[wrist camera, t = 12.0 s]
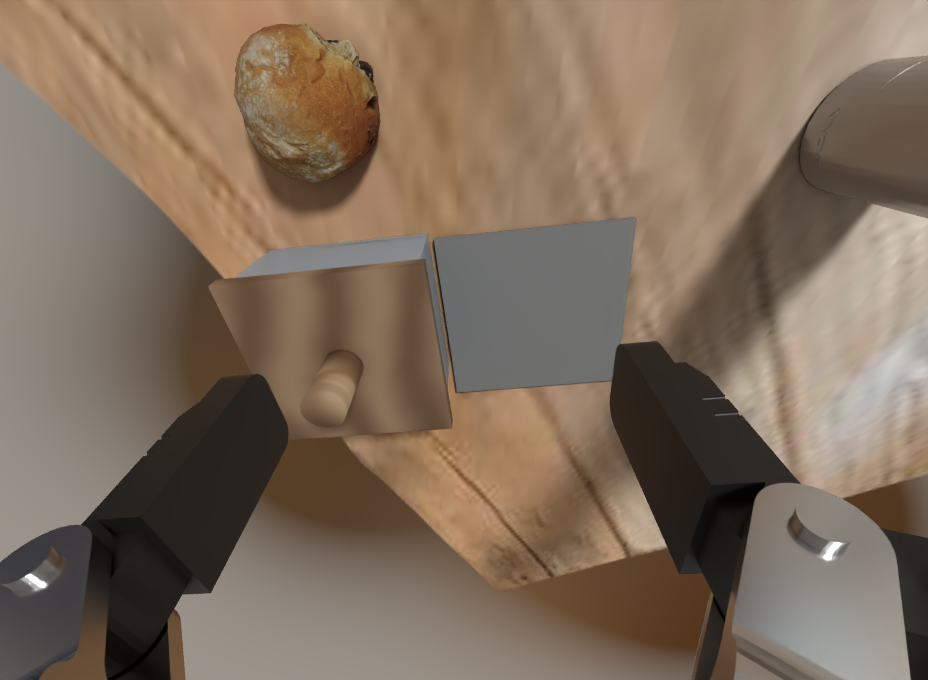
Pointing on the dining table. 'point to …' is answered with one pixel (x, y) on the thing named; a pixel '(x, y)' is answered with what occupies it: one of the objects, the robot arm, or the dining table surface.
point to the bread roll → (306, 101)
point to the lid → (343, 347)
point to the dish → (355, 264)
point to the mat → (535, 303)
